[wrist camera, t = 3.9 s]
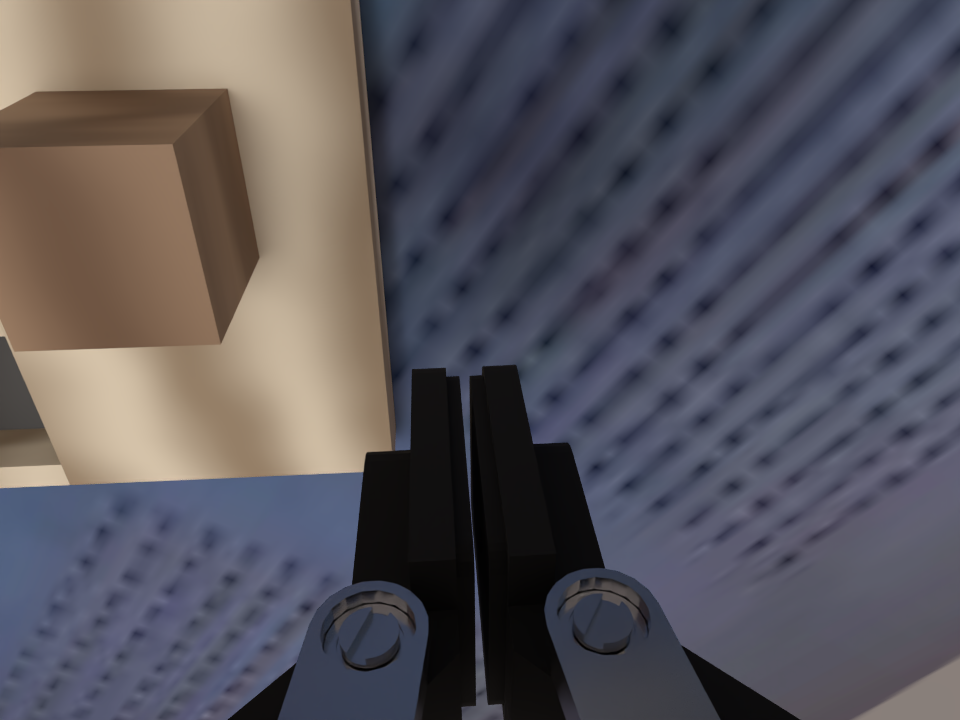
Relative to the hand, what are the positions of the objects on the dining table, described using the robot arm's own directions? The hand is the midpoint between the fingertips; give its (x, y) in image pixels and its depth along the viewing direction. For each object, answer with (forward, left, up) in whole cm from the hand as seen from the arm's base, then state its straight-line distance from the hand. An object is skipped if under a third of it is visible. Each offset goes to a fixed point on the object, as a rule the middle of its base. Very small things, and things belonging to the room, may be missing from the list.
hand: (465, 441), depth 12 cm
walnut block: (+8, -1, -11) cm, 14 cm away
